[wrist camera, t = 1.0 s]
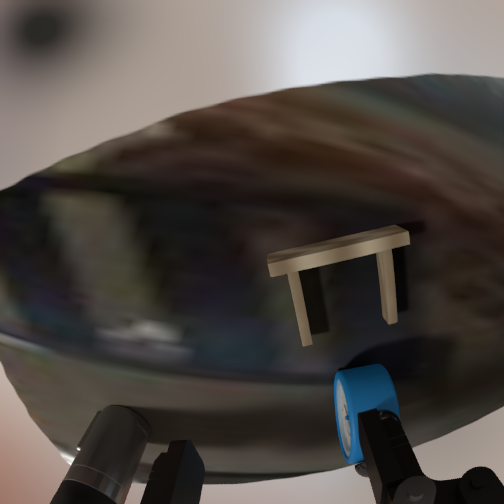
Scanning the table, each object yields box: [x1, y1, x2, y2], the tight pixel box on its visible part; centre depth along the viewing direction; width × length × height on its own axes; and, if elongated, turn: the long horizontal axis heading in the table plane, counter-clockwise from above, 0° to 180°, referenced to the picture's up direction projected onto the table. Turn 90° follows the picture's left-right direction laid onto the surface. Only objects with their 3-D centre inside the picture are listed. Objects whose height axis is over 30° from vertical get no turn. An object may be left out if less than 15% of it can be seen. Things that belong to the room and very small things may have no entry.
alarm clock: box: [334, 364, 401, 477], centre depth 35 cm, size 13×6×15 cm, turn 8°
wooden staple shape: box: [267, 225, 410, 346], centre depth 36 cm, size 16×12×4 cm
